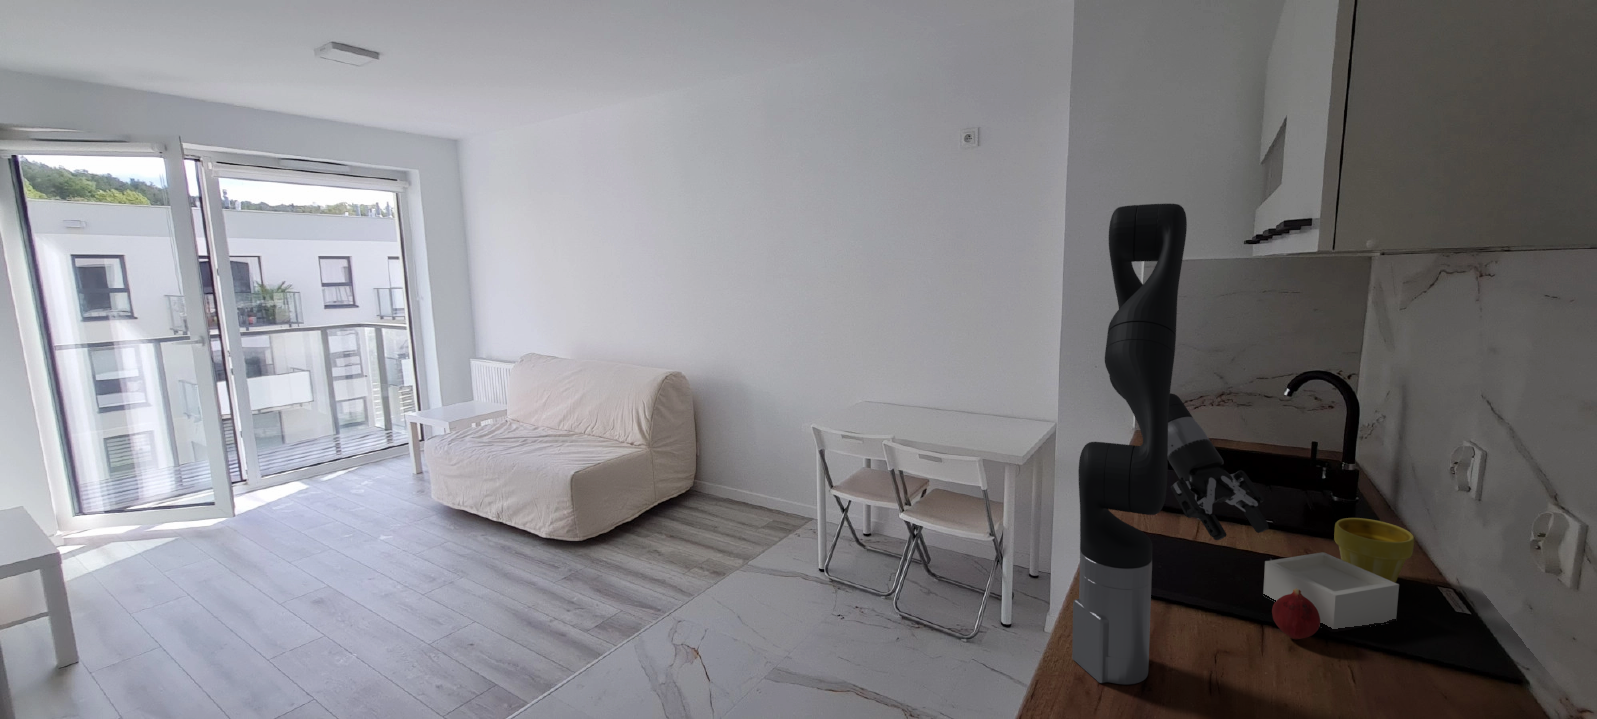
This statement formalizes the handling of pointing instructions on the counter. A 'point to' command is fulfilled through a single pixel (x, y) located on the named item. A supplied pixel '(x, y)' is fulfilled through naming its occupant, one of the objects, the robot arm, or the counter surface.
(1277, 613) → the onion
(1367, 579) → the tray
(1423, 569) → the counter surface
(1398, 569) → the plant pot
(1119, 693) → the counter surface
